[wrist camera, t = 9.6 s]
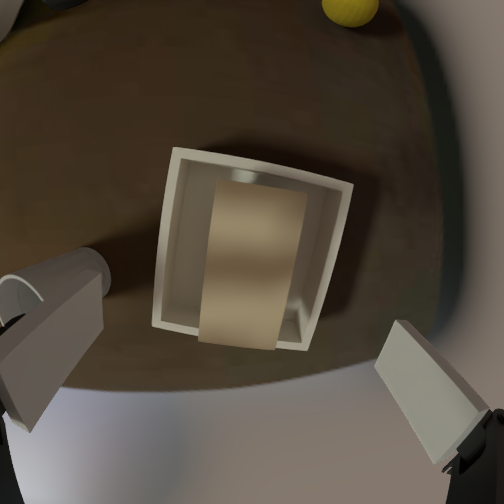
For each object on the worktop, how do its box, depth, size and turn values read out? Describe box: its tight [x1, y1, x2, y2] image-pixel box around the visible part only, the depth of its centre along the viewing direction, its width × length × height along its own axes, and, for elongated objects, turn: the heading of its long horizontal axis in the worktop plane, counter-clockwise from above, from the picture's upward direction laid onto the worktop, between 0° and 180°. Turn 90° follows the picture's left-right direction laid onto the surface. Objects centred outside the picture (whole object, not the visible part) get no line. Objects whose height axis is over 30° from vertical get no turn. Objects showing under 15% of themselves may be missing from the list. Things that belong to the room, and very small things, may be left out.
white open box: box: [152, 147, 354, 351], centre depth 24 cm, size 16×15×5 cm
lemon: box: [322, 0, 379, 27], centre depth 17 cm, size 6×6×8 cm
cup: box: [0, 247, 111, 327], centre depth 21 cm, size 8×8×12 cm
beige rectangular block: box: [198, 179, 308, 350], centre depth 21 cm, size 12×6×5 cm, turn 171°
